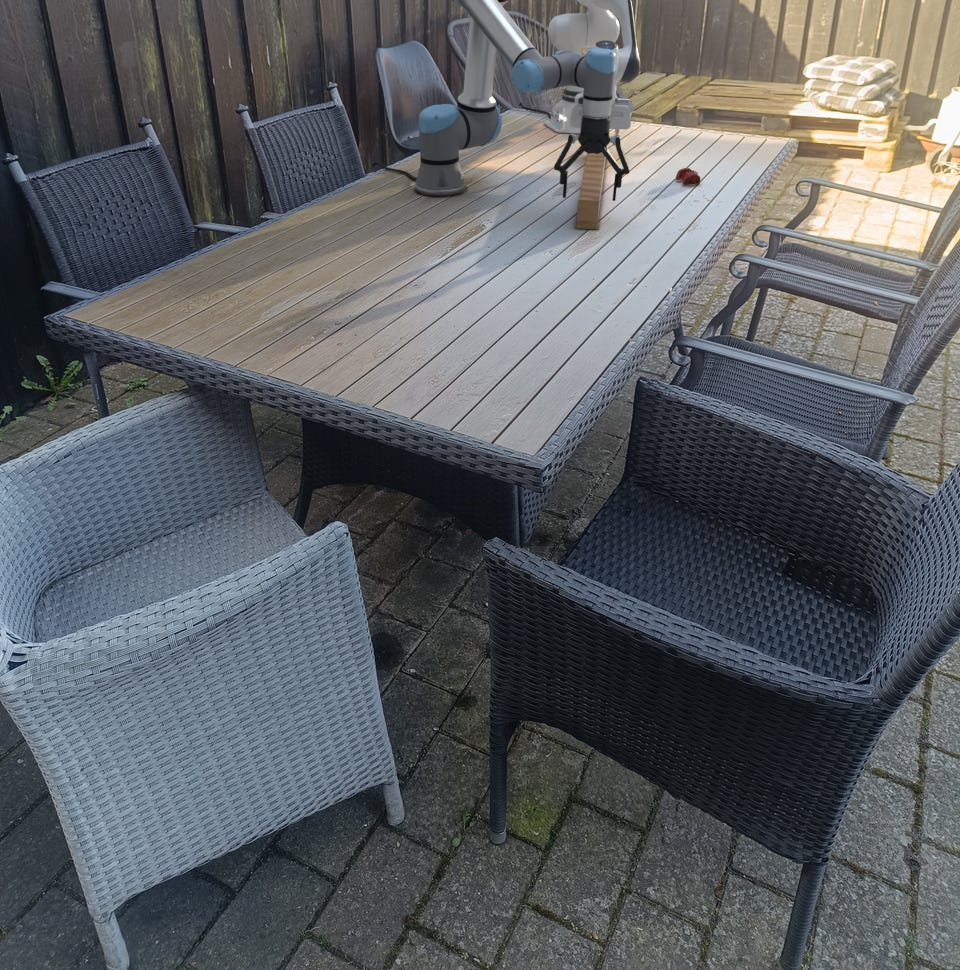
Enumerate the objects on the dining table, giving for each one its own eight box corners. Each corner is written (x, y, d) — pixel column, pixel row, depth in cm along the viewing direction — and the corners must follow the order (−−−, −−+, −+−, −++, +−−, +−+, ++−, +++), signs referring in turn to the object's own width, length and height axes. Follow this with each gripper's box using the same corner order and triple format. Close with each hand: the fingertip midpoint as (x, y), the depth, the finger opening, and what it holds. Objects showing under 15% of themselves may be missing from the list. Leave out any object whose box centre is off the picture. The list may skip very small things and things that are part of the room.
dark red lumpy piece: (691, 164, 266) (703, 171, 259) (690, 177, 268) (701, 185, 262) (675, 166, 265) (686, 173, 258) (673, 179, 267) (684, 187, 261)
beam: (596, 229, 229) (599, 200, 224) (576, 228, 230) (578, 199, 225) (606, 155, 291) (608, 131, 287) (590, 154, 292) (591, 130, 287)
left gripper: (644, 114, 221) (634, 196, 233) (549, 110, 224) (545, 191, 236) (644, 121, 215) (634, 204, 227) (547, 116, 218) (542, 199, 230)
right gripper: (634, 96, 275) (629, 140, 283) (571, 94, 278) (569, 138, 286) (634, 101, 270) (629, 145, 278) (570, 98, 273) (567, 143, 281)
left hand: (589, 198), depth 232 cm, fingers open, 13 cm apart
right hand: (598, 142), depth 282 cm, fingers open, 8 cm apart
